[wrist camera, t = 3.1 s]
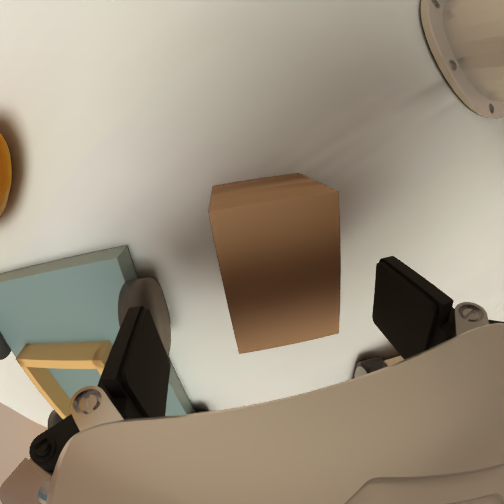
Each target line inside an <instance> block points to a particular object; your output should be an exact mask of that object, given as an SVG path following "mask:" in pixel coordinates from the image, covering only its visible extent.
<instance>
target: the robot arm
mask: <svg viewBox="0 0 504 504" xmlns="http://www.w3.org/2000/svg"><path fill="white" fill-rule="evenodd" d="M421 19H422V25H423V28H424V32H425V36H426V39H427V41H428V44H429V46H430V49H431V52H432V54H433V56H434V58H435V60H436V62H437V64H438V66H439V68H440V70H441V71H442V73H443V75H444V77H445V79H446V80H447V82H448V83H449V84H450V86H451V87H452V89H453V90H454V92H455V93H456V94H457V95H458V97H459V98H460V99H461V100H462V101H463V103H465V104H466V105H467V106H468V107H469V108H470V109H471V110H472V111H474V112H476V113H477V114H479V115H481V116H484V117H488V118H500V117H503V116H504V0H422V1H421ZM453 301H454V300H452V299H451V298H450V297H449V296H447V295H446V294H445V293H443V292H442V291H441V290H439V289H438V288H437V287H436V286H434V285H433V284H432V283H430V282H429V281H427V280H426V279H425V278H423V277H422V276H421V275H419V274H418V273H417V272H415V271H414V270H412V269H411V268H410V267H408V266H407V265H405V264H404V263H403V262H401V261H400V260H398V259H397V258H395V257H394V256H390V257H386V258H382V259H380V261H379V263H377V266H376V280H375V294H374V305H373V315H372V317H373V321H374V323H375V325H376V326H377V327H378V328H379V329H380V331H381V332H382V333H383V334H384V335H385V337H386V338H387V339H388V340H389V341H390V343H391V344H392V345H393V346H394V348H395V349H396V350H397V351H398V353H399V354H400V355H401V356H402V358H403V359H404V360H402V361H400V362H398V363H395V364H393V365H390V366H387V367H385V368H382V369H379V370H377V371H374V372H371V373H368V374H366V375H363V376H360V377H357V378H354V379H351V380H348V381H345V382H342V383H338V384H335V385H332V386H329V387H325V388H322V389H318V390H314V391H311V392H307V393H303V394H299V395H295V396H291V397H287V398H283V399H278V400H274V401H269V402H264V403H259V404H254V405H249V406H243V407H237V408H231V409H225V410H218V411H210V412H202V413H194V414H184V415H173V416H165V412H166V402H167V393H168V384H169V376H170V367H171V365H170V360H169V357H168V355H167V353H166V350H165V348H164V345H163V343H162V341H161V338H160V336H159V333H158V331H157V328H156V326H155V323H154V320H153V318H152V315H151V313H150V310H149V309H148V308H147V309H145V308H144V306H136V307H130V308H129V309H128V311H127V313H126V315H125V317H124V320H123V322H122V324H121V327H120V329H119V332H118V334H117V336H116V339H115V341H114V344H113V346H112V348H111V351H110V353H109V356H108V359H107V361H106V364H105V366H104V369H103V372H102V375H101V377H100V380H99V383H98V386H87V387H84V388H82V389H80V390H79V391H77V392H76V393H75V394H74V395H73V396H72V398H71V400H70V404H69V408H70V412H71V414H70V415H69V416H67V417H66V418H64V419H63V420H61V421H60V422H58V423H57V424H55V425H54V426H52V427H51V428H49V429H48V430H46V431H45V432H43V433H41V434H40V435H38V436H37V437H36V438H35V439H34V440H33V442H32V443H31V446H30V457H31V458H30V459H29V460H28V459H27V458H25V459H24V460H23V461H22V462H21V463H20V464H19V465H18V467H17V468H16V469H15V470H14V471H13V472H12V474H11V475H10V476H9V477H8V478H7V479H6V480H5V481H4V483H3V484H2V486H1V487H0V500H1V502H2V504H504V322H500V321H494V320H488V317H487V313H486V311H485V310H484V309H483V308H482V307H481V306H479V305H477V304H475V303H471V302H464V303H460V304H458V305H457V306H456V308H455V309H454V308H453V307H452V305H453Z"/></svg>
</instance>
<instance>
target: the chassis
mask: <svg viewBox="0 0 504 504" xmlns="http://www.w3.org/2000/svg"><path fill="white" fill-rule="evenodd" d="M136 306H144V308H145V309H147V308H148V309H149V310H150V313H151V315H152V318H153V320H154V323H155V326H156V328H157V331H158V333H159V336H160V338H161V341H162V343H163V345H164V348H165V350H166V353H167V355H168V354H169V351H170V345H171V329H170V320H169V314H168V309H167V305H166V301H165V298H164V295H163V292H162V290H161V288H160V286H159V284H158V282H157V281H156V280H155V279H154V278H152V277H147V278H141V279H138V278H137V275H136V272H135V269H134V266H133V263H132V260H131V256H130V253H129V250H128V247H127V245H125V246H120V247H116V248H111V249H106V250H101V251H97V252H92V253H87V254H83V255H78V256H74V257H69V258H65V259H61V260H56V261H52V262H48V263H43V264H39V265H35V266H31V267H26V268H22V269H18V270H14V271H10V272H6V273H2V274H0V360H2V359H4V358H6V357H7V356H8V355H9V354H10V352H11V350H12V352H13V353H14V355H15V356H16V360H17V361H18V363H19V364H20V366H21V367H22V369H23V370H24V372H25V373H26V374H27V376H28V377H29V379H30V380H31V381H32V383H33V384H34V385H35V387H36V388H37V389H38V390H39V392H40V393H41V394H42V396H43V397H44V398H45V399H46V400H47V402H48V403H49V404H50V405H51V406H52V408H53V409H54V410H53V411H52V412H51V414H50V416H49V419H48V429H49V428H51V427H52V426H54V425H55V424H57V423H58V422H60V421H61V420H63V419H64V418H66V417H67V416H69V415H70V414H71V412H70V408H69V404H70V400H71V398H72V396H73V395H74V394H75V393H76V392H77V391H79V390H80V389H82V388H84V387H87V386H98V383H99V380H100V377H101V375H102V372H103V369H104V366H105V364H106V361H107V359H108V356H109V353H110V351H111V348H112V346H113V344H114V341H115V339H116V336H117V334H118V332H119V329H120V327H121V324H122V322H123V320H124V317H125V315H126V313H127V311H128V309H129V308H130V307H136ZM169 360H170V359H169ZM170 365H171V367H170V376H169V384H168V393H167V402H166V412H165V416H173V415H184V414H194V413H202V412H209V411H201V412H195V410H194V408H193V407H192V405H191V403H190V401H189V399H188V397H187V395H186V393H185V391H184V389H183V387H182V385H181V383H180V381H179V379H178V376H177V374H176V372H175V370H174V368H173V366H172V364H171V361H170Z"/></svg>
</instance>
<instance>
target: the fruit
mask: <svg viewBox="0 0 504 504" xmlns="http://www.w3.org/2000/svg"><path fill="white" fill-rule="evenodd" d="M11 181H12V167H11V159H10V152H9V148H8V145H7V143H6V141H5V139H4V138H3V136H2V135H1V133H0V217H1V215H2V213H3V211H4V209H5V207H6V204H7V201H8V195H9V191H10V187H11Z"/></svg>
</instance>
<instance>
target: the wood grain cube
mask: <svg viewBox="0 0 504 504" xmlns="http://www.w3.org/2000/svg"><path fill="white" fill-rule="evenodd" d="M208 212H209V217H210V222H211V227H212V232H213V237H214V242H215V247H216V252H217V257H218V262H219V267H220V271H221V276H222V281H223V285H224V290H225V294H226V299H227V303H228V308H229V312H230V317H231V321H232V325H233V330H234V334H235V338H236V342H237V347H238V351H239V354H241V353H247V352H253V351H259V350H264V349H270V348H275V347H280V346H285V345H290V344H295V343H299V342H304V341H308V340H313V339H317V338H321V337H325V336H329V335H333V334H337V333H339V315H340V275H341V256H340V215H339V195H338V192H337V191H335V190H333V189H331V188H329V187H327V186H325V185H323V184H321V183H319V182H316V181H314V180H312V179H310V178H308V177H306V176H303V175H301V174H299V173H297V174H289V175H281V176H274V177H266V178H260V179H253V180H246V181H240V182H234V183H228V184H222V185H216V186H213V188H212V194H211V200H210V205H209V211H208Z"/></svg>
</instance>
